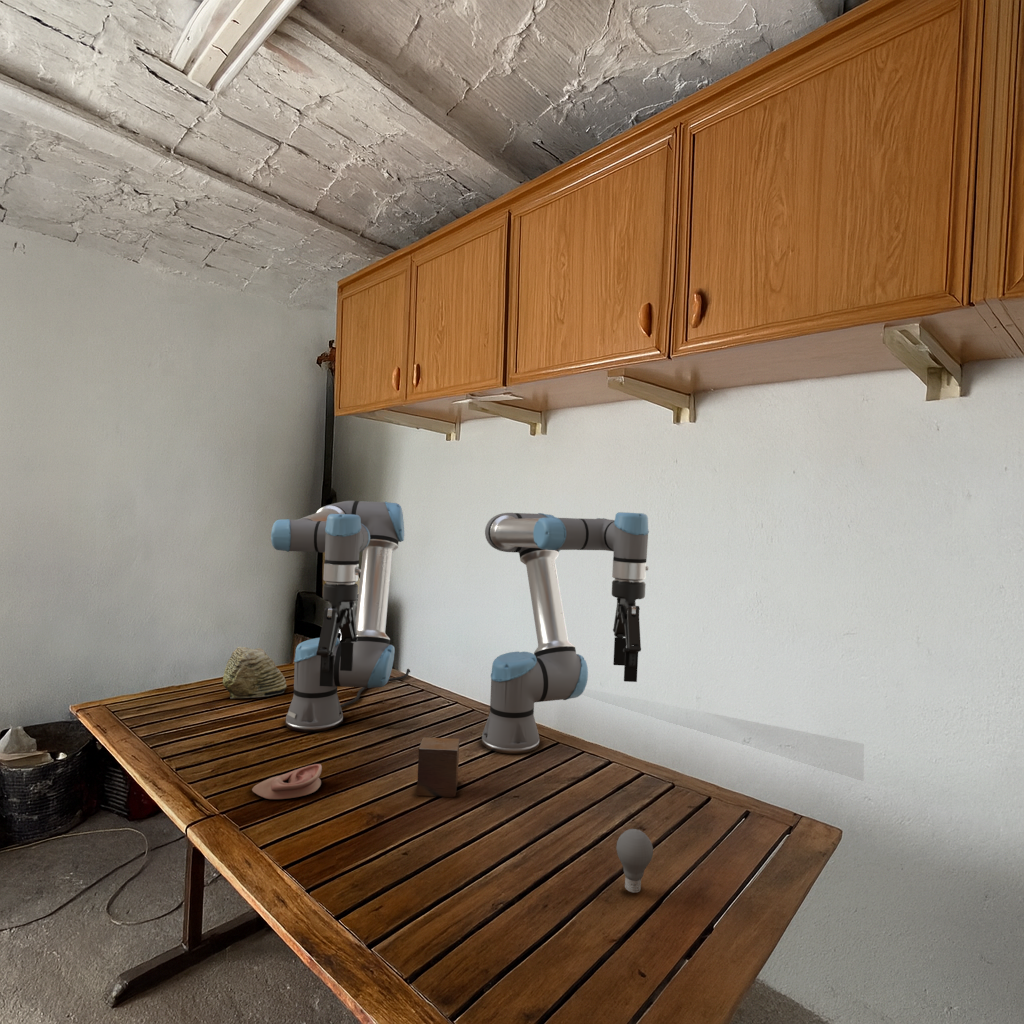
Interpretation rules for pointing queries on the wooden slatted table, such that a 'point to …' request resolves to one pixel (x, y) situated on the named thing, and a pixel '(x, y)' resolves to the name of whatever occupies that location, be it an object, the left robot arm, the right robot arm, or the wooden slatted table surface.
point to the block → (438, 767)
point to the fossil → (252, 674)
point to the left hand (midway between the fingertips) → (336, 677)
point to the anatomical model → (291, 783)
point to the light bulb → (634, 857)
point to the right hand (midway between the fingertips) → (624, 672)
